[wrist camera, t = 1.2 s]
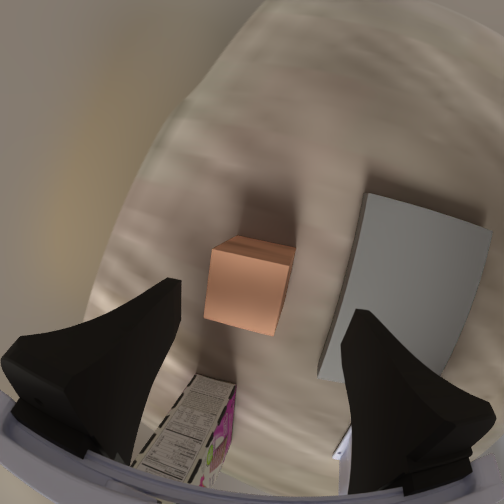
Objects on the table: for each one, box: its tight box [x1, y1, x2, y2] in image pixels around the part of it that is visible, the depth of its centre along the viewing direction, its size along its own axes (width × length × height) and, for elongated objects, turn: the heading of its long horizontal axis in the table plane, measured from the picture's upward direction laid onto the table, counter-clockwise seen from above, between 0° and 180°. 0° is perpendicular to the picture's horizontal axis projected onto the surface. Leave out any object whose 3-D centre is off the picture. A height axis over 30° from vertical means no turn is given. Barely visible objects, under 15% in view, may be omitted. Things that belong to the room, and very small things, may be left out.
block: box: [204, 235, 296, 336], centre depth 21 cm, size 5×5×6 cm
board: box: [317, 193, 493, 383], centre depth 21 cm, size 16×12×2 cm
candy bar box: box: [130, 374, 236, 504], centre depth 21 cm, size 11×5×16 cm, turn 174°
